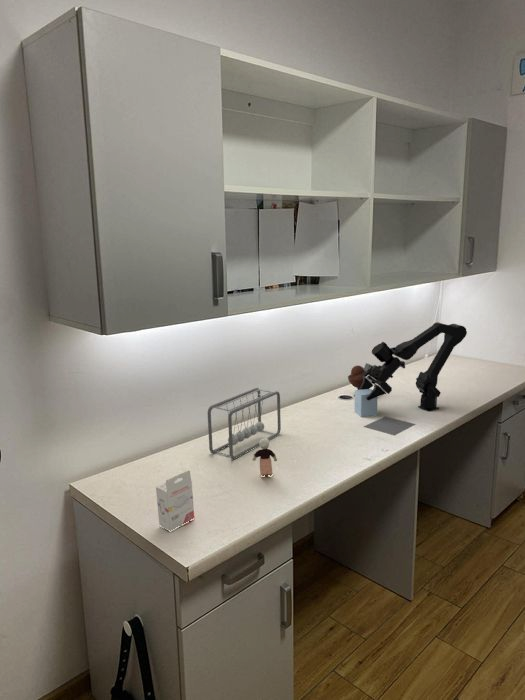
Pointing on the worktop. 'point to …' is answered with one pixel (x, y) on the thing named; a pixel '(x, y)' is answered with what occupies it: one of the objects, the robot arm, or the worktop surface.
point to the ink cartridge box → (175, 501)
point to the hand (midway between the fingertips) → (363, 396)
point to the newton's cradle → (247, 431)
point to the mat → (389, 425)
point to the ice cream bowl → (356, 377)
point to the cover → (365, 403)
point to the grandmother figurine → (265, 457)
